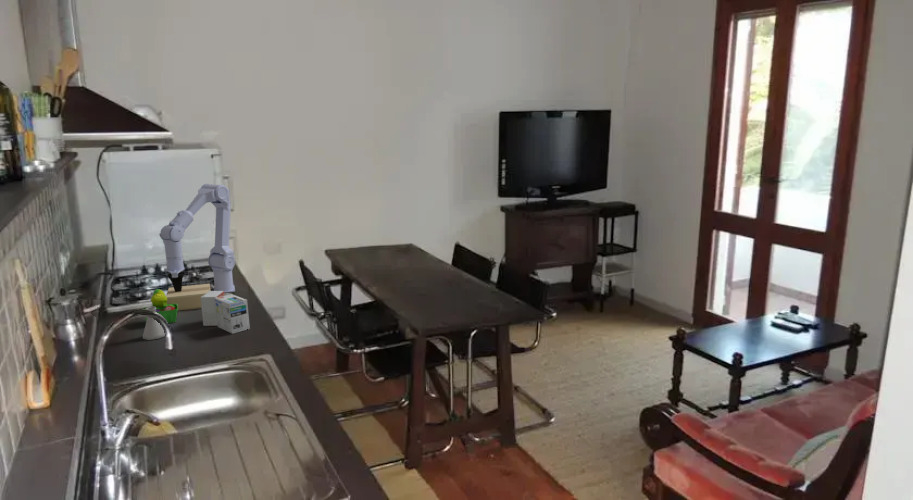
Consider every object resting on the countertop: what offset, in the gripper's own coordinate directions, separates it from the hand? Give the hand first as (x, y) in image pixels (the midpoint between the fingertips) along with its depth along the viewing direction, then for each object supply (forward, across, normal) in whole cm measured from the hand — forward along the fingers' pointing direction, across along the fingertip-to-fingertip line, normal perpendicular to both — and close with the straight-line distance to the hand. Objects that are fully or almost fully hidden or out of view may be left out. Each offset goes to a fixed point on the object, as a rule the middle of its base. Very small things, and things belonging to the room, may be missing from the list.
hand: (178, 291), depth 245 cm
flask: (+6, +34, -6) cm, 35 cm away
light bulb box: (+6, +35, +19) cm, 40 cm away
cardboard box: (+6, 0, +4) cm, 7 cm away
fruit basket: (+6, +18, -5) cm, 19 cm away
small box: (+6, +26, +13) cm, 30 cm away
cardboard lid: (+1, 0, +4) cm, 4 cm away
